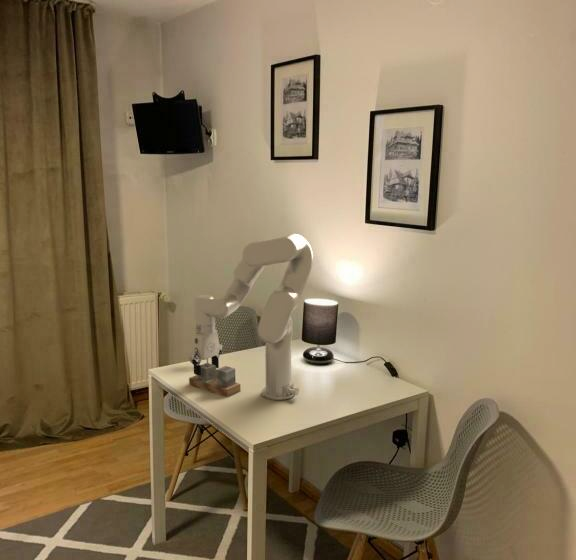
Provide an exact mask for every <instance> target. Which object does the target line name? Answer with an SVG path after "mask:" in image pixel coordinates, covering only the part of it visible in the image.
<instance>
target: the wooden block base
mask: <svg viewBox="0 0 576 560" xmlns="http://www.w3.org/2000/svg"><path fill="white" fill-rule="evenodd" d="M188 385H189V387H193V388H196V389H198V390H199V389H200V390H203V391H206V392H209V393H213V394H216V395H219V396H223V397H226V398H230V397H231V396H234V395H236V394H238V393H240V392H241V383H238V382H236V368H235V367H230V366H227V365H224V366H221V367H219V368H216V378H215V379H213V380H210V381H207V382H206V381H203V380H201V379H198V375H195V374H194V375H193V376H190V377H189V378H188Z"/></svg>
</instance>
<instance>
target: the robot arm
mask: <svg viewBox="0 0 576 560" xmlns="http://www.w3.org/2000/svg"><path fill="white" fill-rule="evenodd" d="M313 260H314V254H313V250H312V247H311V245H310V243H309V242H308V241H307V239H306V238H305V237H303V236H302V235H301V234H297V233H290V234H287V235H284V236H282V237H278V238H277V237H276V238H274V239H268V240H264V239H258V240H257V239H256V240H255V241H252V242H249V243H248V244H247V245H246V246H245V247H244V248H243V250H242V257H241V260H240V261H239V263H238V264H237V265H236V267H235V268H234V270H233V275H234V276H233V277H234V278H233V280H232V283H230V286H229V287H228V288H227V290H226V291H225V293H224V294H222V295H220V296H219V297H216V298H215V297H214V296H212V295H210V294H199V295H197V296H195V297H194V300H193V303H194V305H193V306H194V329H193V331H194V335H193V345H192V346H193V347H192V348H193V349H192V351H191V353H189V354H188V357H187V358H188V359H189V362H190V363H191V364H192V365H193V374H194V376H195V375H199V376H200V375H201V365H202V364H201V362H202V360H203V361H205V360H207V359H208V360H209V359H210V358H211V364H213V365H215V366H216V369H219V368H220V366H219V365H220V363H219V361H220V360H219V359H220V358H221V357H220V355H221V353H222V349H223V344H222V343H221V344H220V340H219V334H218V331H217V328H216V319H224V318H227V317H228V316H230V315H231V314H232V313H235V312H236V311H237V310H238V309H239V307H240V306H241V305H242V304H243V301H245V299H246V298H247V296H248V294H249V293H250V291H251V289H252V288H253V285H254V283H255V282H256V280H257V279H258V277H259V276H260V275H261V273H262V272H263V270H264V269H265V268H266V266H271V265H278V264H282V263H283V264H284V263H288V264H287V266H286V268H285V270H284V272H283V276H282V280H281V282H280V283H279V286H278V287H277V288H276V289H275V290H274V291H272V292H271V293H270V295H269V297H268V298H267V301H266V303H265V306H264V308H263V310H262V311H263V312H262V314H261V317H260V320H259V323H258V326H257V334H258V336H259V339H260V340H261V341H262V342H264V343H265V348H264V349H265V357H264V358H265V387H263V388H262V390H261V395H262V396H263V398H266V399H269V400H273V401H275V400H276V401H283V400H289V399H292V398H294V396H298V395H299V392H300V388H298V387H296V386H295V385H294V384H295V383H294V382H292V345H293V344H292V340H293V331H294V324H293V323H294V322H293V318H292V314H293V312H294V310H296V309H297V307H299V305H300V304H301V299H302V296H303V293H304V291H305V288H306V286H307V282H308V280H309V276H310V273H311V271H312V267H313Z"/></svg>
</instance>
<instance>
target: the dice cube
mask: <svg viewBox="0 0 576 560" xmlns="http://www.w3.org/2000/svg"><path fill="white" fill-rule="evenodd" d="M200 365H201V375H200V376H199V375H198V379H201V380H203V381H206V382H207V381H210V380H213V379H215V378H216V370H217V368H216V366H215V365H213V364H212V363H211V362H210V363H209V362H208V363H207V362H206V363H203V364H200Z"/></svg>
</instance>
